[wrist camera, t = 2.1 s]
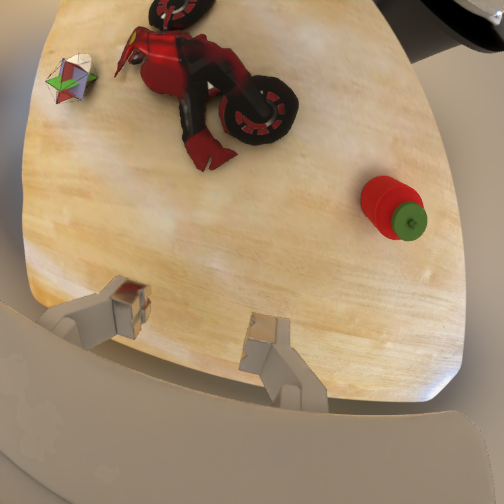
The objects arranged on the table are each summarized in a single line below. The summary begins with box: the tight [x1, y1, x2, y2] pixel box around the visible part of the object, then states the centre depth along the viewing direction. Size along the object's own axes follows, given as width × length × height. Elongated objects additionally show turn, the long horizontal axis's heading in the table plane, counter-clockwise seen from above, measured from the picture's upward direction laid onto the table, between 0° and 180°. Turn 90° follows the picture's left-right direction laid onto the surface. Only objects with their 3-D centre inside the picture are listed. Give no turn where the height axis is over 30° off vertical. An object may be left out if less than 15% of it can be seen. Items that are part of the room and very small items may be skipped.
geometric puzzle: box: [45, 53, 98, 104], centre depth 24 cm, size 7×7×8 cm
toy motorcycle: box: [114, 0, 299, 172], centre depth 24 cm, size 25×5×16 cm
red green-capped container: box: [361, 176, 427, 241], centre depth 26 cm, size 6×6×10 cm
